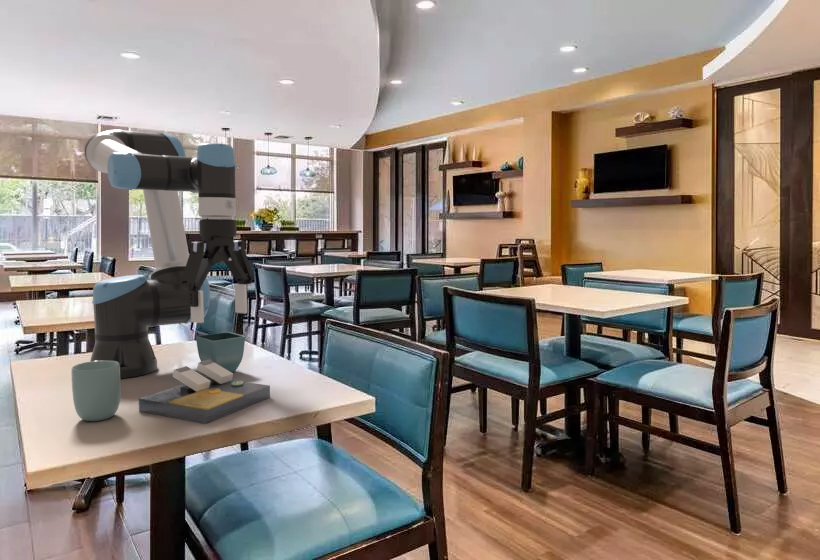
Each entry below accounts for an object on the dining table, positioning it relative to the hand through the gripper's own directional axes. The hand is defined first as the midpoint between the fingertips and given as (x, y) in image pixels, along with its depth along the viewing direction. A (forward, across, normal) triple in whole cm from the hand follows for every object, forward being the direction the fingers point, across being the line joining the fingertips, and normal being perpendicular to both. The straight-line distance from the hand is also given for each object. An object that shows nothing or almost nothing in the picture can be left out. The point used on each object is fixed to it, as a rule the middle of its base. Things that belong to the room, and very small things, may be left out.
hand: (220, 317), depth 125 cm
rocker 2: (+11, -3, -1) cm, 12 cm away
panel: (+16, -10, -4) cm, 19 cm away
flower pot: (+16, +12, +11) cm, 23 cm away
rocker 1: (+11, -9, 0) cm, 15 cm away
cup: (+16, -24, +8) cm, 30 cm away
